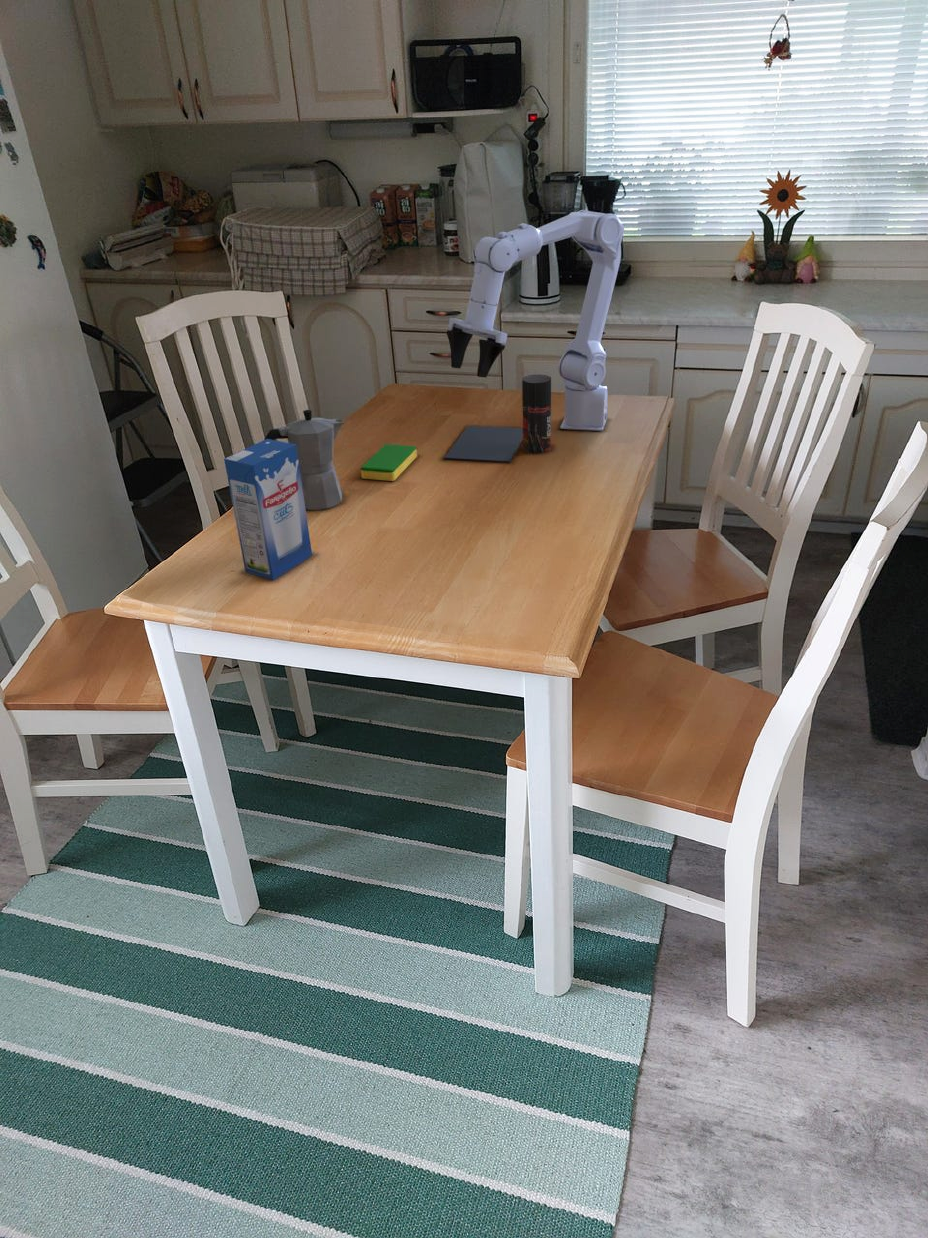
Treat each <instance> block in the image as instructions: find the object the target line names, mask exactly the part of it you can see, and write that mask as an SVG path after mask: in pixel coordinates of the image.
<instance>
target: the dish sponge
mask: <svg viewBox="0 0 928 1238" xmlns="http://www.w3.org/2000/svg"><path fill="white" fill-rule="evenodd" d="M417 458H418V449H417V446H416V445H407V444H405V445H403V444H390V443H386V444H383V446H382V447H380V449H378V450H377V451H376V452H375V453H374V455H372V456H371V457H370V458H369V459H368V460H367V461H366V462H365V463H364V464H363V465H362V466H360V474H361V475H360V476H361V478H362V479H365V480H376V481H390V482H394V481H396V480H397V479H398V477H399V476H400V475H401V474H402V473H403V472H404V471H405V470H406V469H407V468H408V467H409V466H410V465H411V464H412V463H413V462H414V460H415V459H417Z"/></svg>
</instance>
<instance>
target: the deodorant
mask: <svg viewBox="0 0 928 1238" xmlns="http://www.w3.org/2000/svg"><path fill="white" fill-rule="evenodd" d="M521 383H522V384H521V387H522V388H521V392H522V393H521V394H522V395H521V396H522V397H521V398H522V399H521V400H522V403H521V405H522V428H523V440H522V450H523V452H525V453H529V454H543V453H548V452H549V451H550V450H551V448H552V430H551V429H552V377H551V376H550V375H546V374H529V375H526V376H525V375H524V376H523V377H522V378H521Z"/></svg>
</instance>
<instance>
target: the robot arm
mask: <svg viewBox="0 0 928 1238" xmlns="http://www.w3.org/2000/svg"><path fill="white" fill-rule="evenodd" d="M624 232H625V227H624V226H623V224H622V222H621V219H620V218H619V217H618V216H617V215H616V214H615V213H603V212H596V211H591V210H588V209H581V210H578V211H572V212H570V213H569V214H567V215H564V216H563V217H560V218H557V219H556V220H553V221H551V222H548V223H546V224H544V225H542V226H539V227H538V228H537V227H535V226H533V225H531V224H527V223H523V222H522V223H520V224H518V225H517V228H516V229H512V230H510V231H500V232H498V234H497V235H496V237H492V236H485V237H482V238H481V239H480V240H479V241H478V242H477V243H476V245H475V247H474V248H472V250H471V254H472V260H473V263H474V268H473V272H474V274H473V278H472V283H471V289H470V293H469V298H468V304H467V308H466V314H465V317H464V320H463V319H459V318H454V317H450V318H449V322H448V328H449V329H451V330H449V329H448V330H446V336H447V339H448V343H449V349H450V364H451V365H450V366H451V368H453V369H461V368H462V366H463V364H464V363H463V362H464V358H465V354H466V351H467V349H468V347H469V343H470V342H471V339H473V336H476V337H479V339H478V345H479V357H478V358H479V359H478V364H477V371H476V376H477V377H478V378H487V377H488V375H489V372H490V371H491V368H492V367H493V365H494V363H495V362H496V360H497V359H498V357H499V356H500V355H501V354H502V352H503V351H504V350H505V349H506V344H507V340H508V339H507V338H508V335H509V334H508V333H505V332H503V331H500V330H497V329H494V323H495V319H496V316H497V311H498V306H499V300H500V297H501V291H502V287H503V283H504V278H505V273H506V272H508V271H509V270H510V269H511V268H512V266H513V265H514V264H515V263H518V262H520V261H524V260H526V259H530V258H532V257H534V256H537V255H538V254H539V253H540V252H541V250H542V247H543V246H546V245H549V244H552V243H556V242H559V241H563V240H565V239H569V238H572V239H573V241H575V243H577V244H578V245H579V246H580V247H581V248H582V249H583V250H584V251H586V253H587V254H588V256H589V258H590V260H591V261H592V265H591V269H590V274H589V278H588V282H587V287H586V291H585V295H584V299H583V303H582V304H583V305H582V307H581V313H580V317H579V321H578V325H577V330H576V333H575V337H574V339H572V340H570V342H568V343H567V344H566V346H565V349H564V353H563V354H562V356H561V357H560V359H559V361H558V366H557V370H558V374H559V376H560V377H561V378H562V379H563V381H562V382H563V383H562V384H564V418H563V420H562V422H561V423H560V427H559V428H560V429H561V430H574V431H575V430H576V431H577V430H579V431H597V432H598V431H599V432H602V431H603V430H604V428H605V425H606V423H607V420H608V391H609V390H608V387H607V386H604V385H601V384H602V383H603V381H604V379H605V377H606V372H607V371H606V369H607V368H606V360H607V357H608V356H607V353H606V351H605V350H604V347H603V346H602V345H601V344H602V343H601V342H602V337H603V334H604V330H605V326H606V321H607V317H608V313H609V309H610V305H611V301H612V296H613V292H614V289H615V284H616V280H617V276H618V272H619V268H620V264H621V260H622V245H621V244H622V241H623V236H624ZM482 338H483V339H482Z"/></svg>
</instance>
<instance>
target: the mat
mask: <svg viewBox="0 0 928 1238" xmlns="http://www.w3.org/2000/svg"><path fill="white" fill-rule="evenodd" d="M521 443H523V427H512V426H511V427H508V426H489V425H488V426H487V425H470V424H469V425H467V426H466V427H465V428H464V430H463V431H462V433H461V434H460V436H459V437H458V438H457V440H456V441H455V442H454V443H453V445H452V446H451V448H450V449H449V450H448V451H447V453H446V455H445V456H444V458H443V460H446V461H447V460H448V461H468V462H485V463H486V462H487V463H500V464H501V463H502V464H503V463H504V464H510V463H511V461H512V459H513V458H514V456H515V454H516V452H517V451H518V450H519V447H520V446H521Z"/></svg>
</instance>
